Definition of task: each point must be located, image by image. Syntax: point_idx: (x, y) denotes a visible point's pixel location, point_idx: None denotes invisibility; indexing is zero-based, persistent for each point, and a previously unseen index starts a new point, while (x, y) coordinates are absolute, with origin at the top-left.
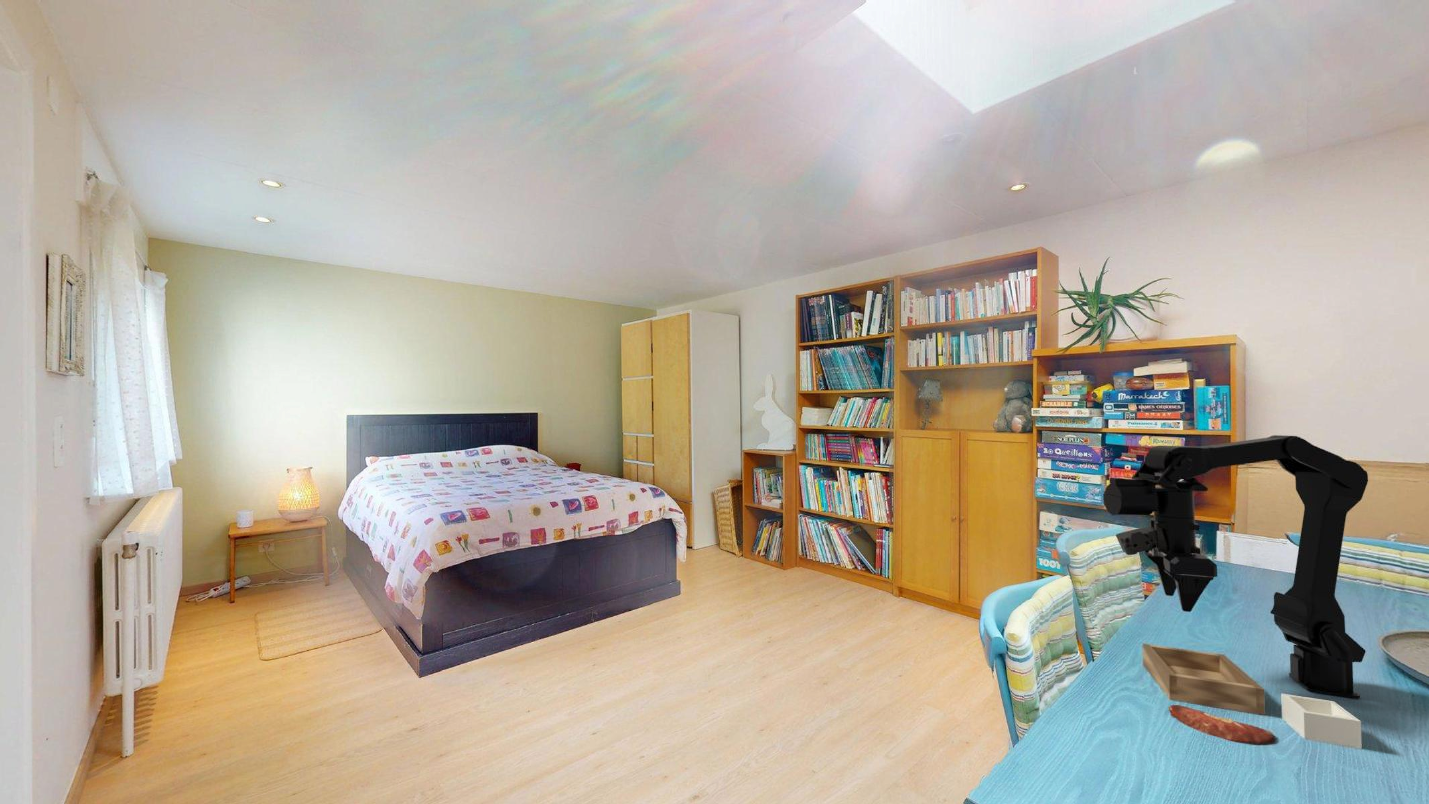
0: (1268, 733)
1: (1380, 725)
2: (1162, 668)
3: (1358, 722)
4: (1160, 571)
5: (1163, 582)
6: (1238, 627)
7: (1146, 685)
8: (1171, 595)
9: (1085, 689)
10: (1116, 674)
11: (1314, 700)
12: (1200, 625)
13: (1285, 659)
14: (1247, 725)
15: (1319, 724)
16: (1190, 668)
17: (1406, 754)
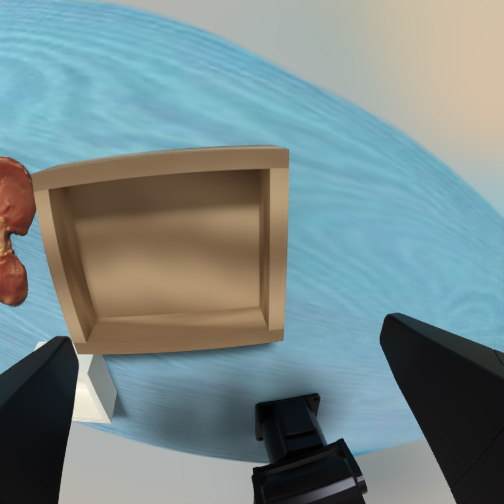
0: (2, 298)
1: (166, 432)
2: (83, 164)
3: None
4: (497, 386)
5: (437, 350)
6: None
7: (119, 124)
8: (380, 336)
9: (43, 7)
10: (164, 63)
11: (95, 404)
12: (493, 312)
13: (387, 392)
14: (4, 277)
15: None
16: (259, 251)
17: None
